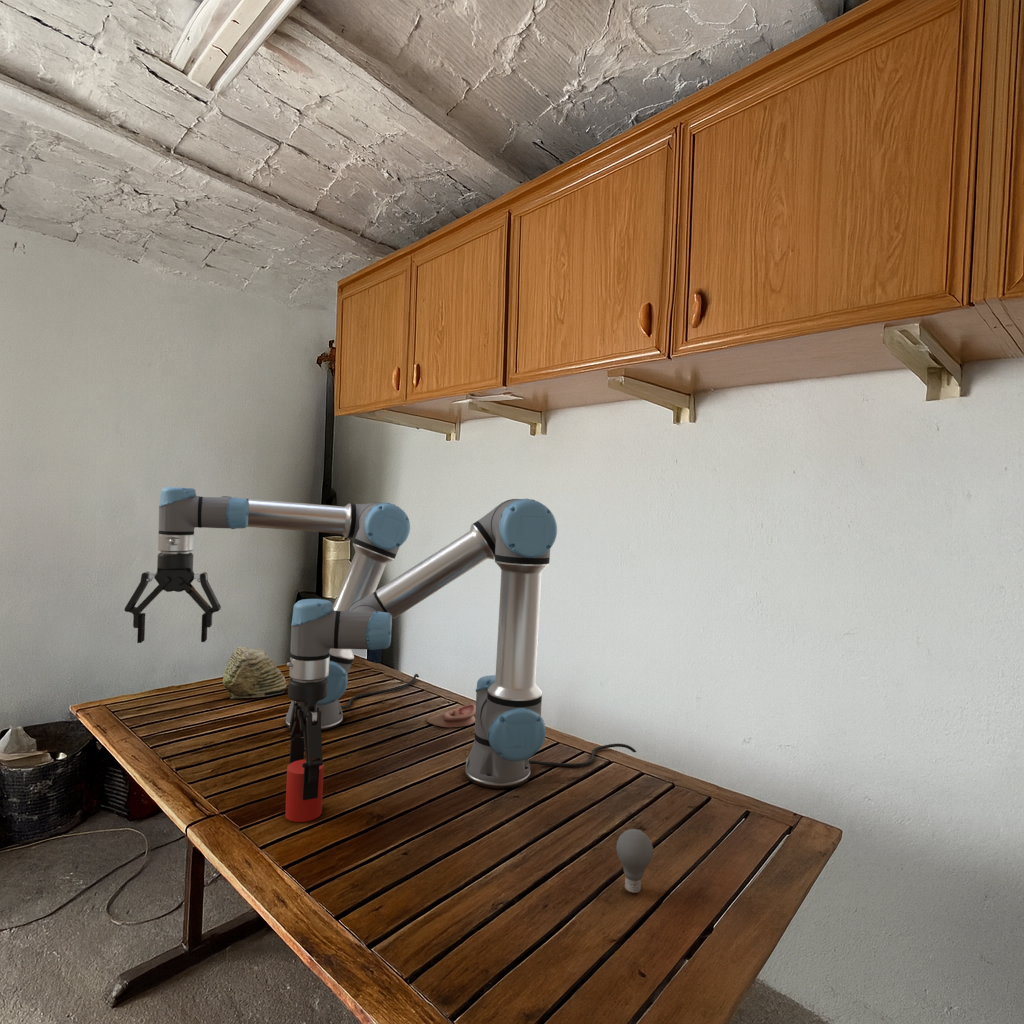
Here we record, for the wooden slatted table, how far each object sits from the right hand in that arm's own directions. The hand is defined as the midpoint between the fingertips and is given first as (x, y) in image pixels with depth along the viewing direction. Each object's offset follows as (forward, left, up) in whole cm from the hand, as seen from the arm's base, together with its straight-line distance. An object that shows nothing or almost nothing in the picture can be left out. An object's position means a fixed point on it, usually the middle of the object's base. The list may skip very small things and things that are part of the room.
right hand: (302, 783), depth 126 cm
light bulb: (-44, +49, -6) cm, 66 cm away
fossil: (-2, -81, -6) cm, 82 cm away
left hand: (+23, -41, +21) cm, 52 cm away
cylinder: (0, 0, -6) cm, 6 cm away
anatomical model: (-49, -36, -6) cm, 61 cm away
